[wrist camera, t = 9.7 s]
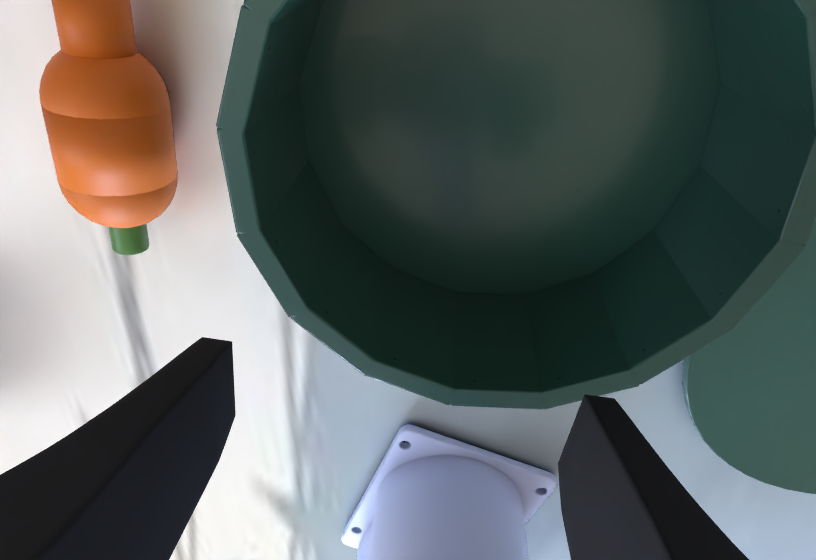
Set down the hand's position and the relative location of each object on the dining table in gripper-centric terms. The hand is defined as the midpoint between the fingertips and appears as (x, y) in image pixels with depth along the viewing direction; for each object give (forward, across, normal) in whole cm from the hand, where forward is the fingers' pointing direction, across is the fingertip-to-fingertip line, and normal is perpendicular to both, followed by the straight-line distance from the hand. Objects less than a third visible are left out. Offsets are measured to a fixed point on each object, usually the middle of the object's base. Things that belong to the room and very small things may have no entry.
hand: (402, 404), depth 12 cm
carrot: (+9, +12, -2) cm, 15 cm away
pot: (+10, -2, -3) cm, 11 cm away
